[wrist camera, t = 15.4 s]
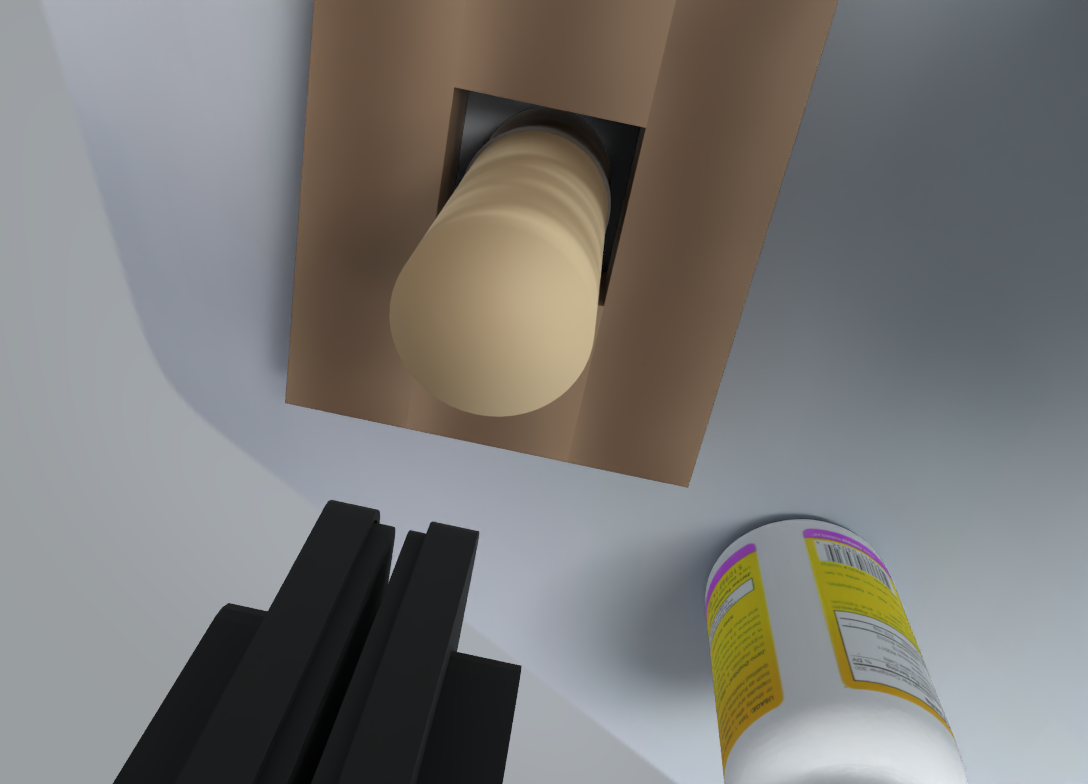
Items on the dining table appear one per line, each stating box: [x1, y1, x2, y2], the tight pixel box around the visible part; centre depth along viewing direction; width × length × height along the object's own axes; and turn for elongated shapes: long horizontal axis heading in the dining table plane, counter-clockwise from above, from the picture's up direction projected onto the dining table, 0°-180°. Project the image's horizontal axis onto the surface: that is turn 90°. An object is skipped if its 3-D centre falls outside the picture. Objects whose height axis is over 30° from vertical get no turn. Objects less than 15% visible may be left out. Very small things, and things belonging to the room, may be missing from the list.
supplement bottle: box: [705, 519, 967, 784], centre depth 29 cm, size 7×7×13 cm
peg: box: [389, 108, 611, 417], centre depth 24 cm, size 4×4×12 cm
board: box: [285, 0, 838, 488], centre depth 28 cm, size 13×16×3 cm
